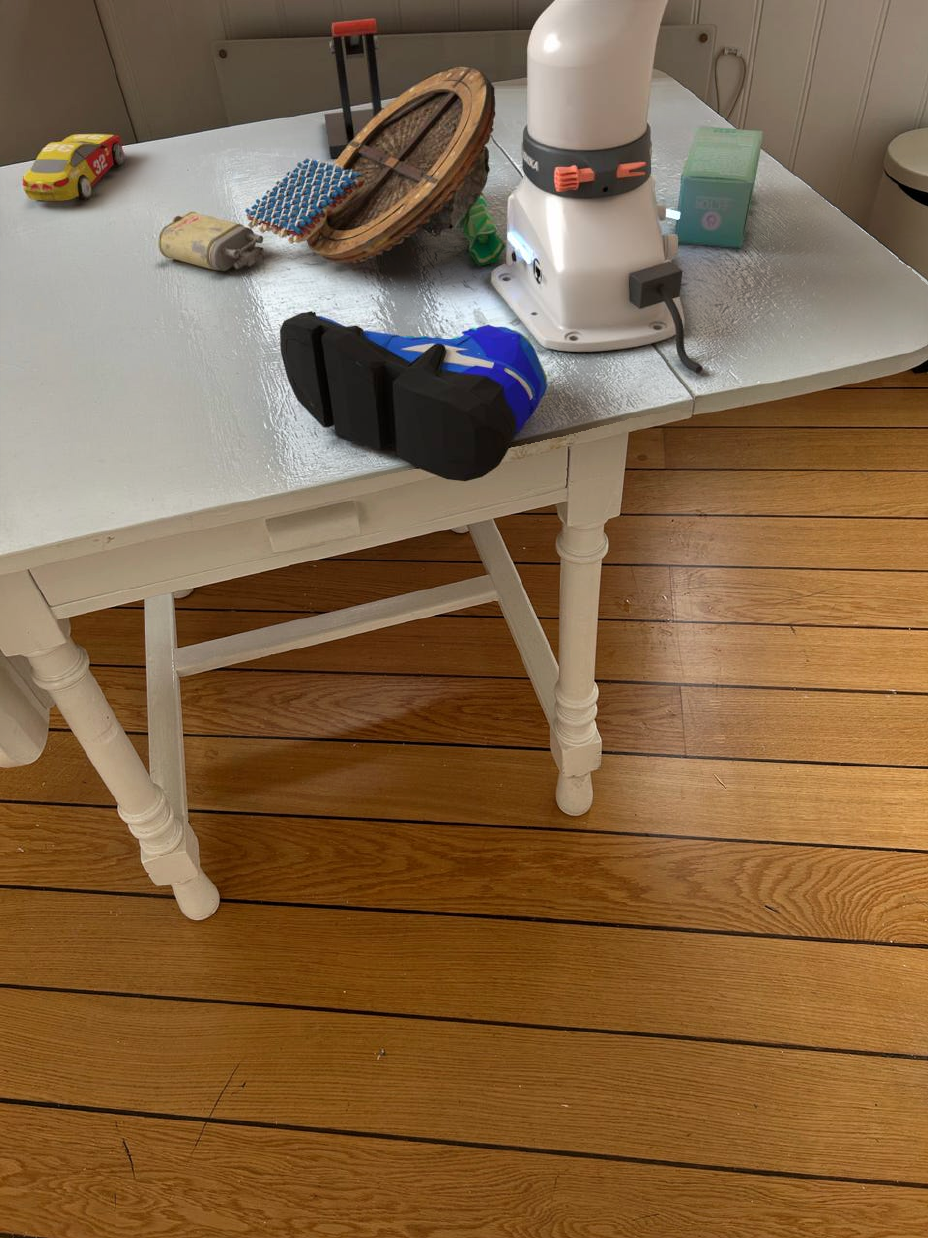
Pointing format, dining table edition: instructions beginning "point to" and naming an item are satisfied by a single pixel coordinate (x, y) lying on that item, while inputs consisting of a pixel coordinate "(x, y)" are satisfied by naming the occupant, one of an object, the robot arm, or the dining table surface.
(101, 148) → the toy car
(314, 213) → the woven mat
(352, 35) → the lever
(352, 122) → the bracket
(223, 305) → the dining table surface
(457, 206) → the rock
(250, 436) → the dining table surface
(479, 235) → the candy
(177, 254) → the lighter
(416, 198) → the round wicker shield
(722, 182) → the box
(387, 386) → the sneaker
